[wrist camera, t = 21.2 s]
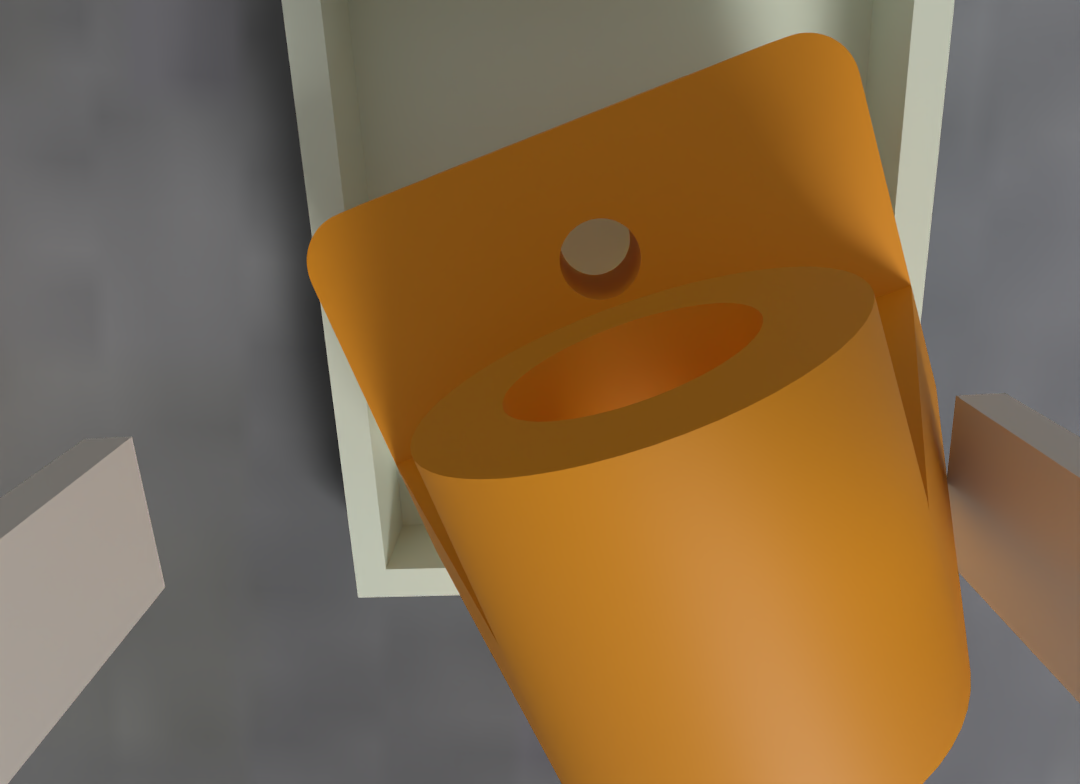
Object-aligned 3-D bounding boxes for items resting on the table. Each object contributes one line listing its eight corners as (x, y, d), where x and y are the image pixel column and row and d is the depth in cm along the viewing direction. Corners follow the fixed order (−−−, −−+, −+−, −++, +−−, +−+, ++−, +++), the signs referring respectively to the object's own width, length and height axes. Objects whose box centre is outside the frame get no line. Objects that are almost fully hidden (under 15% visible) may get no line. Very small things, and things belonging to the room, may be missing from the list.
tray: (381, 540, 24) (358, 597, 21) (310, -81, 19) (266, -115, 16) (852, 528, 24) (892, 584, 21) (908, -113, 19) (970, -154, 16)
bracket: (802, 29, 17) (1299, -152, 6) (885, 350, 19) (1371, 699, 8) (326, 217, 18) (-58, 381, 7) (452, 497, 20) (316, 978, 9)
